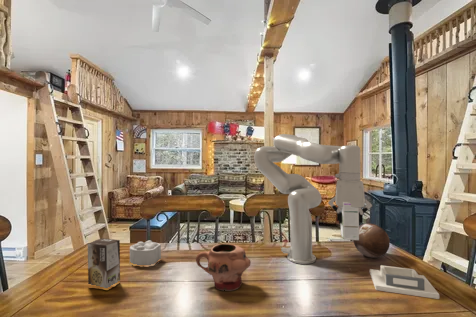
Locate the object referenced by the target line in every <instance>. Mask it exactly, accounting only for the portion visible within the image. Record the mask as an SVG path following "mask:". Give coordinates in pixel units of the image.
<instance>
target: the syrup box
mask: <svg viewBox="0 0 476 317" xmlns="http://www.w3.org/2000/svg"><path fill="white" fill-rule="evenodd" d="M359 226H360V225H359V208H356V207H351V204H350V203H349V202H343V207H342V209H341V224H340V236H341V238H342V239H343V240H347V241H353V240H359Z"/></svg>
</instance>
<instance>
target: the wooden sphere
mask: <svg viewBox="0 0 476 317" xmlns="http://www.w3.org/2000/svg"><path fill="white" fill-rule="evenodd" d="M352 242H353V245H354V247H355V248H356V250H357V251H358V252H359V253H360V254H361V255H363V256H365V257H367V258H373V259H375V258H380V257H382V256H384V255H385V254H387V252H388V251H389V249H390V245H391V243H390V242H391V240H390V237H389V235H388V233H387V231H385V229H384V228H382V227H381V226H380V225H378V224H376V223H370V222H369V223H363V224H361V225H359V240H352Z"/></svg>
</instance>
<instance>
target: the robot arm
mask: <svg viewBox="0 0 476 317" xmlns="http://www.w3.org/2000/svg"><path fill="white" fill-rule="evenodd" d="M361 152H362V150H361V147H360V146H359V145H353V144H350V145H342V146H340V145H331V144H319V143H314V142H312V141H311V142H310V141H309V140H308V139H307V138H305V137H300V136H297V135H294V134H286V133H282V134H281V133H280V134H278V135H276V136H275V138H274V139H273V146H271V145H270V146H269V145H267V146H266V145H264V146H260V147H258V148H257V149H255V151H254V154H253V160H254V164H255V167H256V168H257V170H258V171H259V172H260V173H261V174H262V175H263V176H265V178H266V179H268V181H269V182H270V183H271V184H272V185H273V186H274V187H275V188H276V190H278V191H279V192H280V193H281V194H284V195H288V196H287V204H288V209H289V220H290V221H289V224H290V230H289V231H290V232H289V233H290V246H289V247H283V246H282V247H281V249H280V250H281V251H280V252H282V253H283V254H287V259H288V261H290V262H292V263H295V264H300V265H308V264H309V265H310V264H314V263H315V262H316V261H317V256H316V255H315V254H313V224H312V223H313V220H312V215H311V212H310V209H314V208H317V207H319V205H320V204H321V203H322V194H321V192H320V191H319V190H318V189H317V188H316V187H315V186H314V185H313V184H312V183H311V182H310V181H308V179H307V178H305V176H302V175H301V174H298V173H287V172H286V171H285V170H283V169H282V168H281V167H280V166H279V165H278V164H276V163H281V162H284V160H286V159H287V158H289V157H290V156H292V155H293V156H297V157H300V158H301V159H304V160H306V161H308V162H313V163H316V164H320V165H336V164H339V166H338V167H339V168H338V173H335V174H334V175H335V176H334V178H338V180H337V181H336V185H335V186H336V187H335V195H334V197H332V198H331V199H330V200H329V201H328V202H327V204H328V205H329V206H330V208H332V209H333V210H334V211H335V212H336V221H337V222H338V224H339V225H341V209H342V207H343V202H349V203H350V204H351V207H356V208H359V226H361V225H362V223H363V215H364V214H365V213H366V212H368V211H369V210H370V209H371V208H372V207H373V204H372V203H371V202H370V201H369V200H368V199H366V197H365V187H364V182H363V180H361ZM334 203H335V204H334Z"/></svg>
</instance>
